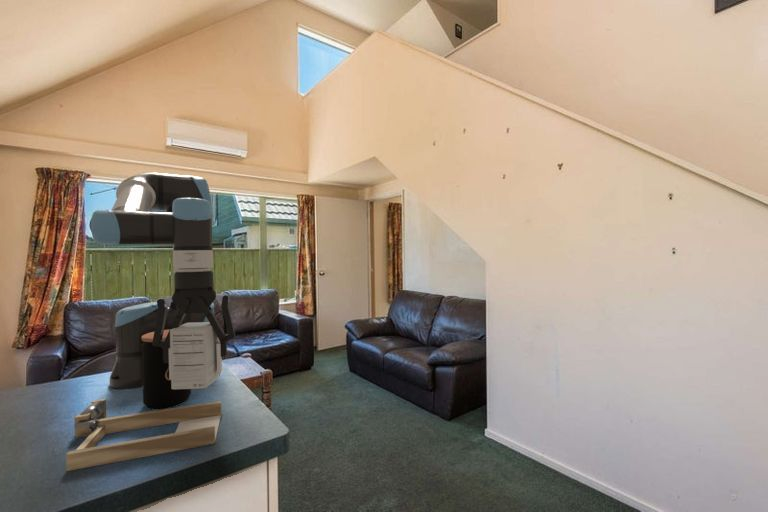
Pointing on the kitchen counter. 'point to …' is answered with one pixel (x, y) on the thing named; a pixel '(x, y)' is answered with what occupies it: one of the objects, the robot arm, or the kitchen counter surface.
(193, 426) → the front mat
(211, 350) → the supplement box
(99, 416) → the winch
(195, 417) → the bay
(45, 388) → the kitchen counter surface
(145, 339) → the coffee jar
